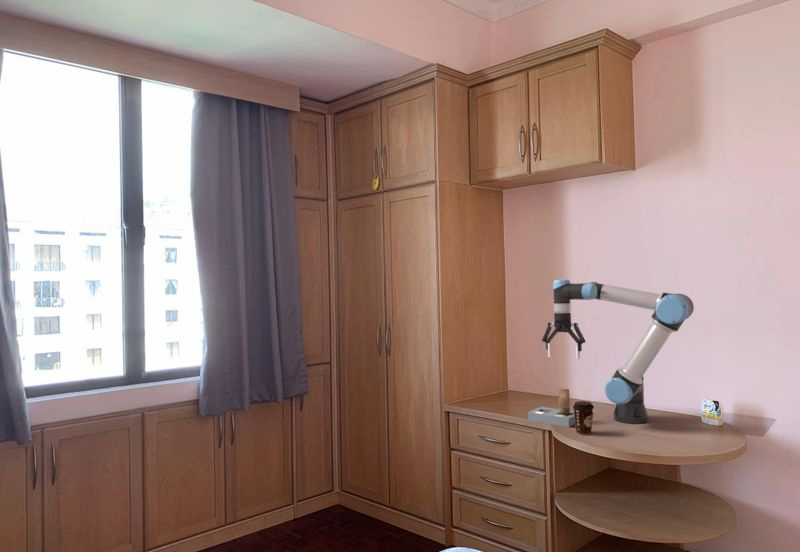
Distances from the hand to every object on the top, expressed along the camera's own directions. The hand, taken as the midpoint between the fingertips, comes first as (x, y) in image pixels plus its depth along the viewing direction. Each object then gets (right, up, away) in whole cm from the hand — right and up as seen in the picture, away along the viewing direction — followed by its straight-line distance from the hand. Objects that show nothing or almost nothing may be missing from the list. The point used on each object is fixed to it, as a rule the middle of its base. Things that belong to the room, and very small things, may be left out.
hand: (563, 357), depth 271 cm
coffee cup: (+2, -29, -24) cm, 38 cm away
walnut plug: (-2, -29, -7) cm, 30 cm away
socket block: (-5, -29, -3) cm, 29 cm away
